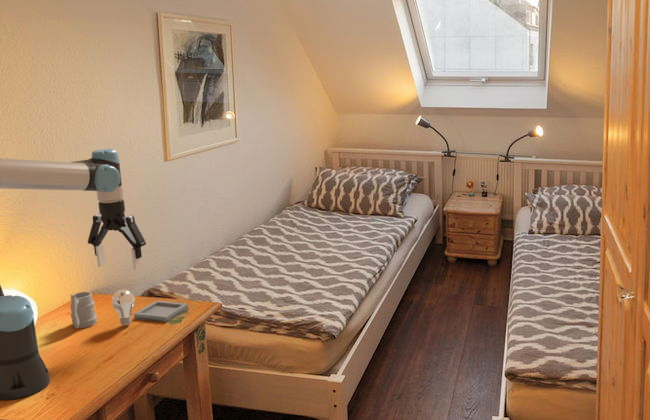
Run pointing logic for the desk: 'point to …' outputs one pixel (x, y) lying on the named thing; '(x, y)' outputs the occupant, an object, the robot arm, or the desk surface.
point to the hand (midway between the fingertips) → (119, 267)
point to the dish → (161, 311)
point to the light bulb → (123, 305)
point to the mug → (83, 310)
